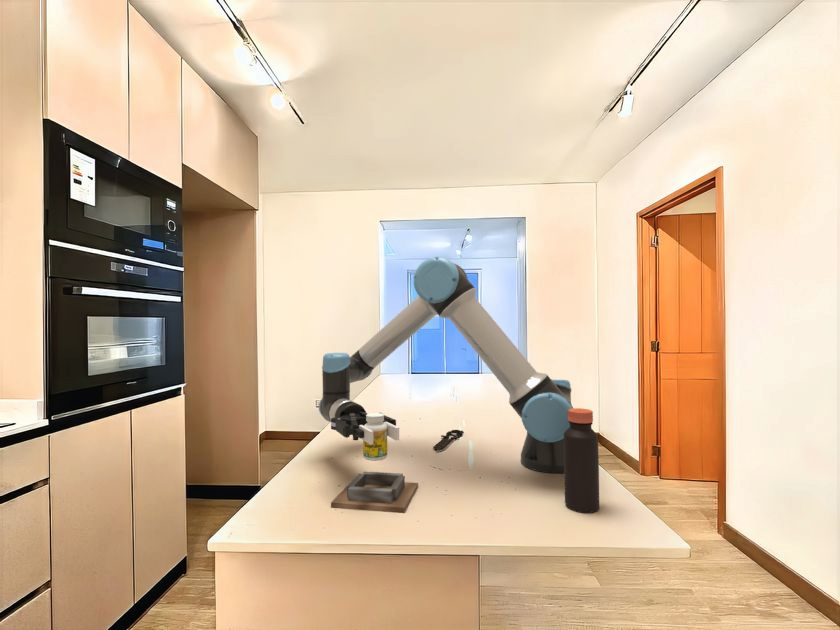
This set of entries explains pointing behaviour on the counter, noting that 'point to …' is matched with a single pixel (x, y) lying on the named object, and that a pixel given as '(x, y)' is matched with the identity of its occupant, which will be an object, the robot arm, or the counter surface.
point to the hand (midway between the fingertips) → (384, 435)
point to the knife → (450, 441)
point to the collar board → (377, 492)
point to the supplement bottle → (376, 438)
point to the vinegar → (581, 462)
